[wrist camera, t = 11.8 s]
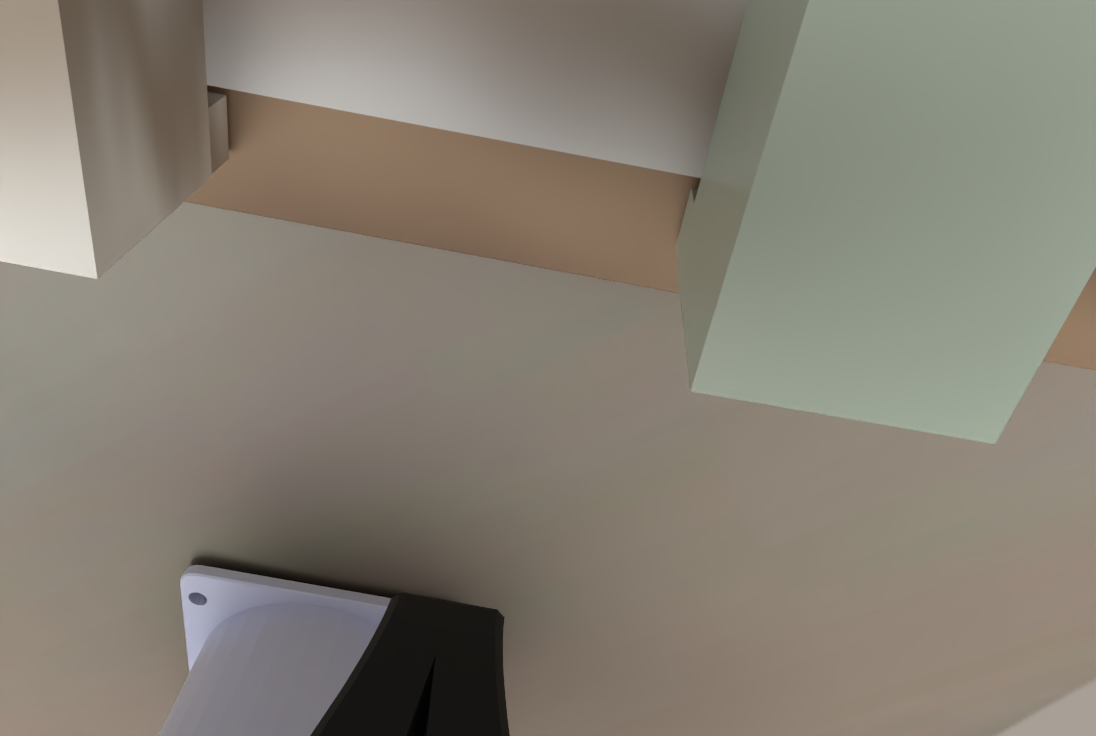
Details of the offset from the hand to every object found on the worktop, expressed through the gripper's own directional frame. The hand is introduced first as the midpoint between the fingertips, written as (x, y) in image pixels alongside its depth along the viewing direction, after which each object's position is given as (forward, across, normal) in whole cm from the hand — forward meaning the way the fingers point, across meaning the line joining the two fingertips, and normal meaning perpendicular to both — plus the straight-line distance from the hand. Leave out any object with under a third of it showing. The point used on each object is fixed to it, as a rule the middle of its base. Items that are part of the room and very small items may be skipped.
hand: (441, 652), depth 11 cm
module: (+8, -5, -6) cm, 11 cm away
